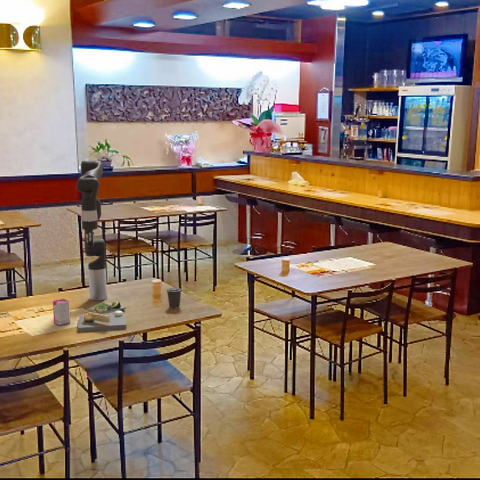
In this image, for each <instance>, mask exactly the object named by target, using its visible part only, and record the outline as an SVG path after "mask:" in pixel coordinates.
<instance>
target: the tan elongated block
mask: <svg viewBox="0 0 480 480" xmlns="http://www.w3.org/2000/svg"><path fill="white" fill-rule="evenodd" d="M83 316H84V321H85V322H93V321H95V320H96V321H101V322H106V323H108V322H110V316H108V315H103V314H98V312H94V311H93V312H89V313H87V312H86V313H84V314H83Z"/></svg>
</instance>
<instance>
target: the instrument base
mask: <svg viewBox="0 0 480 480" xmlns="http://www.w3.org/2000/svg"><path fill="white" fill-rule="evenodd" d="M103 315H108V316H110V322H108V323H106V322H101V321H96V320H95V321H93V322H85V321H84V315H79V316H78V323H77V325H78V326H77V329H78V330H77V332H78V333H82V332H83V333H84V332H85V333H87V332H99V331H100V332H101V331H110V330H111V331H112V330H123V329H126V330H127V319H126V313H125V312H123V310H122V311H116V312H115V314H103Z"/></svg>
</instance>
